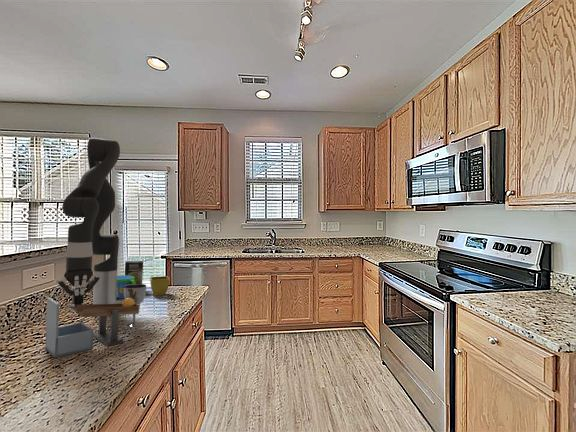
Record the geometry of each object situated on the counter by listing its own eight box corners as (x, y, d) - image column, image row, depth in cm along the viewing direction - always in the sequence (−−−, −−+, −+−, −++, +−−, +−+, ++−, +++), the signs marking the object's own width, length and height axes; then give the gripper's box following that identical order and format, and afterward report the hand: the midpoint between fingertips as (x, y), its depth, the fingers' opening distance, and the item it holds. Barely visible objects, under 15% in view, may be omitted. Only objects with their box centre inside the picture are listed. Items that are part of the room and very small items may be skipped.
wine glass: (136, 328, 126) (137, 288, 126) (117, 326, 127) (119, 287, 127) (149, 322, 134) (150, 284, 134) (131, 320, 135) (132, 283, 135)
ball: (119, 307, 119) (121, 296, 120) (130, 308, 122) (132, 297, 123) (123, 310, 117) (126, 298, 117) (135, 310, 120) (137, 299, 120)
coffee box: (123, 292, 179) (124, 262, 179) (124, 290, 185) (125, 260, 185) (142, 291, 183) (143, 262, 183) (142, 289, 189) (143, 260, 189)
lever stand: (92, 336, 117) (93, 304, 117) (107, 332, 121) (108, 302, 121) (107, 346, 109) (108, 312, 109) (123, 342, 112) (124, 309, 112)
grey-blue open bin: (45, 348, 106) (47, 297, 106) (81, 340, 113) (83, 292, 113) (55, 358, 99) (56, 304, 99) (92, 348, 107) (94, 298, 107)
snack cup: (142, 297, 172) (142, 277, 172) (124, 301, 162) (125, 280, 162) (120, 293, 178) (120, 274, 178) (102, 297, 168) (102, 277, 168)
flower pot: (150, 297, 172) (151, 279, 171) (149, 293, 179) (149, 276, 179) (169, 296, 176) (169, 278, 176) (166, 292, 183) (167, 275, 183)
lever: (67, 307, 115) (69, 298, 115) (121, 305, 129) (122, 297, 129) (82, 317, 106) (84, 307, 106) (138, 313, 119) (140, 305, 119)
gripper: (96, 252, 122) (94, 300, 122) (53, 255, 112) (51, 307, 112) (104, 255, 117) (102, 304, 117) (60, 257, 107) (58, 311, 107)
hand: (77, 305), depth 115 cm, fingers closed
